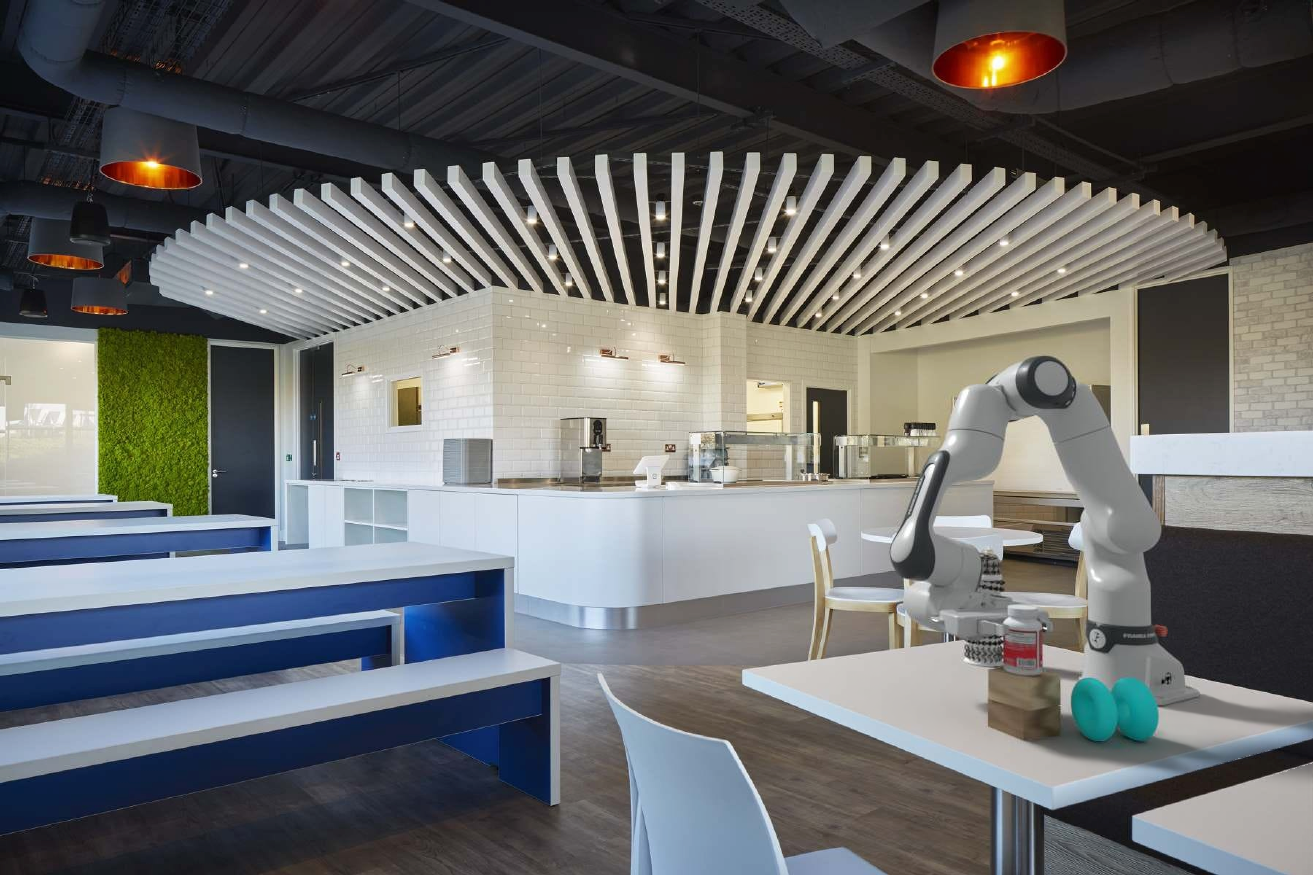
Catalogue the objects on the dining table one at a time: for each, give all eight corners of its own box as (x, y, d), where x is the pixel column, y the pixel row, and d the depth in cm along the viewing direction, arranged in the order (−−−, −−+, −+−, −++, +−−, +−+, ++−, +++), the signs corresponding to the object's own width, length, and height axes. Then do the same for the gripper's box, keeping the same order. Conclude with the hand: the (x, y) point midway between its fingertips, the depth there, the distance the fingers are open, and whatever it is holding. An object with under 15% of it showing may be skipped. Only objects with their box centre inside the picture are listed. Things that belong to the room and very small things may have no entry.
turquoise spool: (1163, 748, 133) (1162, 685, 133) (1103, 749, 132) (1103, 686, 132) (1123, 729, 143) (1122, 670, 143) (1067, 730, 142) (1067, 671, 142)
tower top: (1019, 693, 147) (1019, 664, 147) (1060, 704, 139) (1060, 674, 140) (988, 698, 143) (988, 669, 143) (1028, 710, 136) (1028, 680, 136)
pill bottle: (1021, 666, 145) (1021, 602, 146) (1050, 674, 140) (1050, 608, 140) (995, 669, 143) (995, 604, 143) (1024, 678, 137) (1024, 610, 137)
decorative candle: (984, 668, 185) (984, 556, 186) (953, 659, 194) (953, 552, 195) (1014, 665, 189) (1013, 554, 190) (982, 656, 198) (982, 551, 199)
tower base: (1023, 722, 146) (1023, 693, 146) (1060, 736, 139) (1060, 706, 139) (987, 726, 143) (987, 697, 143) (1023, 741, 136) (1023, 710, 136)
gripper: (924, 600, 150) (978, 613, 137) (1013, 595, 157) (1073, 607, 144) (924, 635, 150) (979, 652, 137) (1013, 629, 157) (1073, 644, 144)
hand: (1028, 629), depth 141 cm, fingers open, 8 cm apart
